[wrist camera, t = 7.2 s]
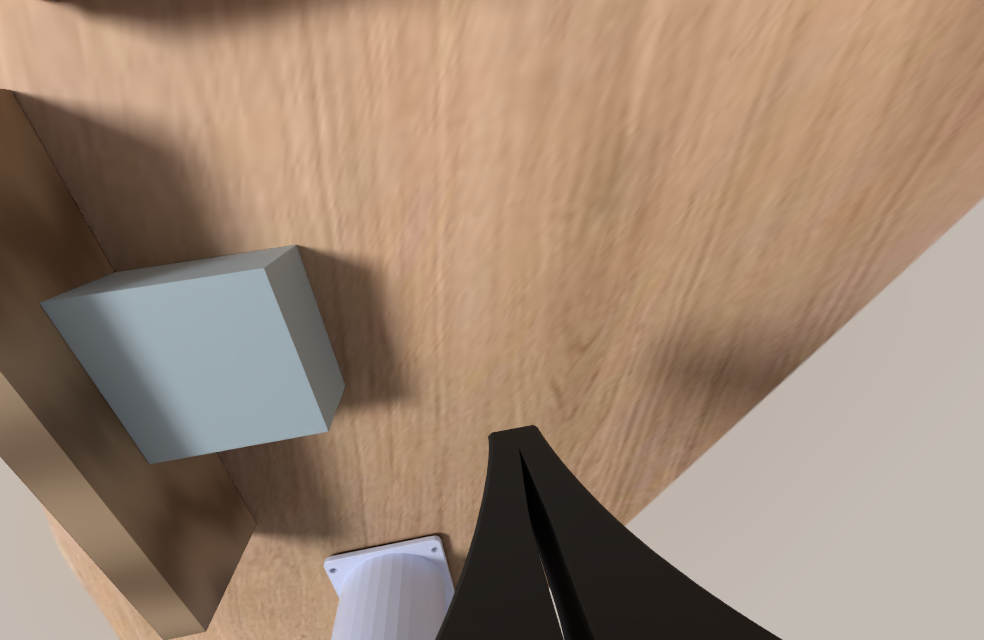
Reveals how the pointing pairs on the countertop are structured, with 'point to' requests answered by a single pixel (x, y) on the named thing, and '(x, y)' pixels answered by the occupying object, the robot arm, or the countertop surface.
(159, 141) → the countertop surface
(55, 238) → the fence board
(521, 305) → the countertop surface
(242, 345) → the grey block
